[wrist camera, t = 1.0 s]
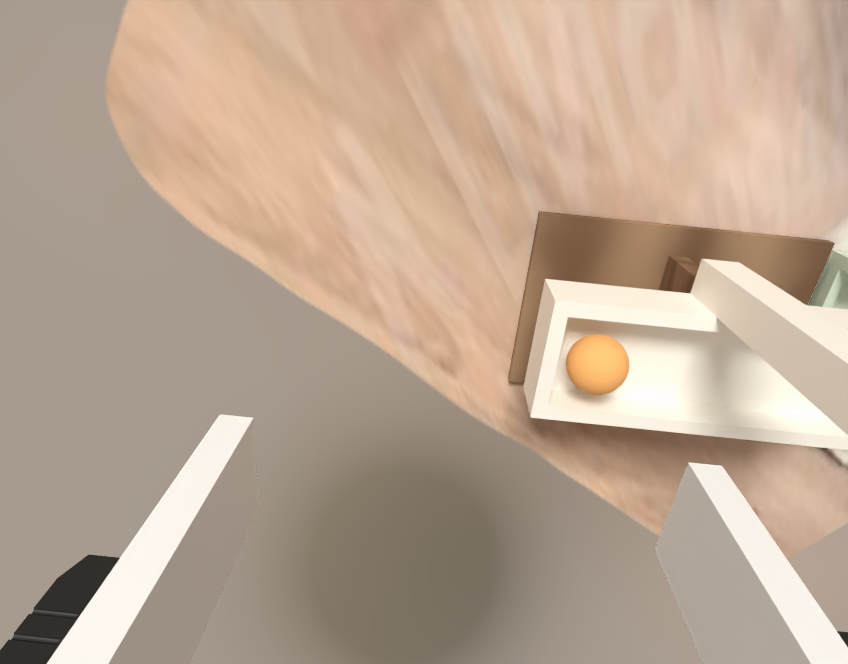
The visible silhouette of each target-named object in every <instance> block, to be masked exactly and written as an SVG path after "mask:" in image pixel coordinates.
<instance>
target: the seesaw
mask: <svg viewBox="0 0 848 664" xmlns="http://www.w3.org/2000/svg"><path fill="white" fill-rule="evenodd" d="M594 334H601V335H606V336H609V337H611V338H613V339H615V340H616V341H618V342H619V343H620V344H621V345H622V346H623V348H624V349H625V351H626V353H627V355H628V358H629V372H628V375H627V377H626V379H625V381H624V383H623V384H622V385H621V386H620V387H619V388H617V389H616V390H614V391H612V392H610V393H607V394H601V395H594V394H589V393H586V392H584V391H582V390H580V389H579V388H578V387H576V386H575V385H574V384H573V382H572V381H571V380H570V378H569V376H568V373H567V370H566V358H567V354H568V352H569V350H570V348H571V347H572V346H573V344H574V343H575V342H577V341H578V340H579V339H581V338H583V337H585V336H588V335H594ZM523 388H524V392H525V396H526V401H527V405H528V409H529V414H530V418H540V419H549V420H559V421H569V422H579V423H588V424H598V425H608V426H618V427H627V428H637V429H647V430H657V431H666V432H676V433H686V434H695V435H705V436H715V437H725V438H734V439H744V440H754V441H764V442H773V443H783V444H793V445H803V446H812V447H822V448H832V449H841V450H848V309H838V308H829V307H819V306H809V305H805V304H804V303H802V302H800V301H799V300H797V299H796V298H794V297H793V296H791V295H790V294H788V293H786V292H785V291H783V290H782V289H780V288H779V287H777V286H775V285H774V284H772V283H771V282H769V281H768V280H766V279H764V278H763V277H761V276H760V275H758V274H757V273H755V272H754V271H752V270H750V269H749V268H747V267H746V266H744V265H743V264H741V263H739V262H730V261H720V260H710V259H702V260H701V263H700V266H699V269H698V272H697V275H696V278H695V281H694V284H693V287H692V290H691V293H681V292H671V291H661V290H651V289H641V288H631V287H621V286H611V285H602V284H592V283H582V282H572V281H562V280H552V279H545V282H544V287H543V292H542V297H541V302H540V307H539V312H538V317H537V322H536V327H535V332H534V337H533V342H532V347H531V352H530V357H529V362H528V367H527V371H526V376H525V381H524V386H523Z"/></svg>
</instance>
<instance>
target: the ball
mask: <svg viewBox="0 0 848 664" xmlns="http://www.w3.org/2000/svg"><path fill="white" fill-rule="evenodd" d="M566 370H567V373H568V376H569V378H570V380H571V381H572V382H573V384H574V385H575V386H576V387H578V388H579V389H580V390H582V391H584V392H586V393H589V394H594V395H601V394H607V393H610V392H612V391H614V390H616V389H617V388H619V387H620V386H621V385H622V384H623V383H624V381H625V379H626V377H627V375H628V372H629V358H628V355H627V353H626V351H625V349H624V348H623V346H622V345H621V344H620V343H619V342H618V341H616V340H615V339H613V338H611V337H609V336H606V335H601V334H594V335H588V336H585V337H583V338H581V339H579V340H578V341H577V342H575V343H574V344H573V346H572V347H571V348H570V350H569V352H568V354H567V358H566Z"/></svg>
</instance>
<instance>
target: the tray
mask: <svg viewBox="0 0 848 664" xmlns="http://www.w3.org/2000/svg"><path fill="white" fill-rule="evenodd" d="M809 306H819V307H829V308H838V309H848V252H843V251H833V250H832V252H831V255H830V257H829V259H828V262H827V264H826V266H825V268H824V271H823V273H822V275H821V277H820V280H819V282H818V284H817V286H816V289H815V291H814V293H813V296H812V298H811V300H810V302H809Z"/></svg>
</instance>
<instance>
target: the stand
mask: <svg viewBox="0 0 848 664" xmlns="http://www.w3.org/2000/svg"><path fill="white" fill-rule="evenodd" d="M833 246H834V243H833V242H831V241H828V240H818V239H808V238H799V237H789V236H779V235H769V234H759V233H749V232H739V231H729V230H719V229H709V228H699V227H689V226H679V225H669V224H659V223H650V222H640V221H630V220H620V219H610V218H600V217H590V216H580V215H570V214H560V213H550V212H540V211H539V214H538V219H537V225H536V230H535V236H534V241H533V247H532V252H531V257H530V263H529V268H528V274H527V279H526V284H525V290H524V295H523V301H522V306H521V312H520V317H519V322H518V328H517V333H516V339H515V344H514V350H513V355H512V360H511V366H510V371H509V377H508V378H509V382H518V383H524V381H525V376H526V371H527V367H528V362H529V357H530V352H531V347H532V342H533V337H534V332H535V327H536V322H537V317H538V312H539V307H540V302H541V297H542V292H543V287H544V282H545V279H552V280H562V281H572V282H582V283H592V284H602V285H611V286H621V287H631V288H641V289H651V290H661V291H671V292H681V293H691V290H692V287H693V284H694V281H695V278H696V275H697V272H698V269H699V266H700V263H701V260H702V259H710V260H720V261H730V262H739V263H741V264H743V265H744V266H746V267H747V268H749V269H750V270H752V271H754V272H755V273H757V274H758V275H760V276H761V277H763V278H764V279H766V280H768V281H769V282H771V283H772V284H774V285H775V286H777V287H779V288H780V289H782V290H783V291H785V292H786V293H788V294H790V295H791V296H793V297H794V298H796V299H797V300H799V301H800V302H802V303H804V304H805V305H808V302H809V300H810V298H811V296H812V293H813V291H814V289H815V287H816V284H817V282H818V280H819V277H820V275H821V273H822V271H823V268H824V266H825V264H826V262H827V259H828V257H829V255H830V253H831V250H832V248H833Z"/></svg>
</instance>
